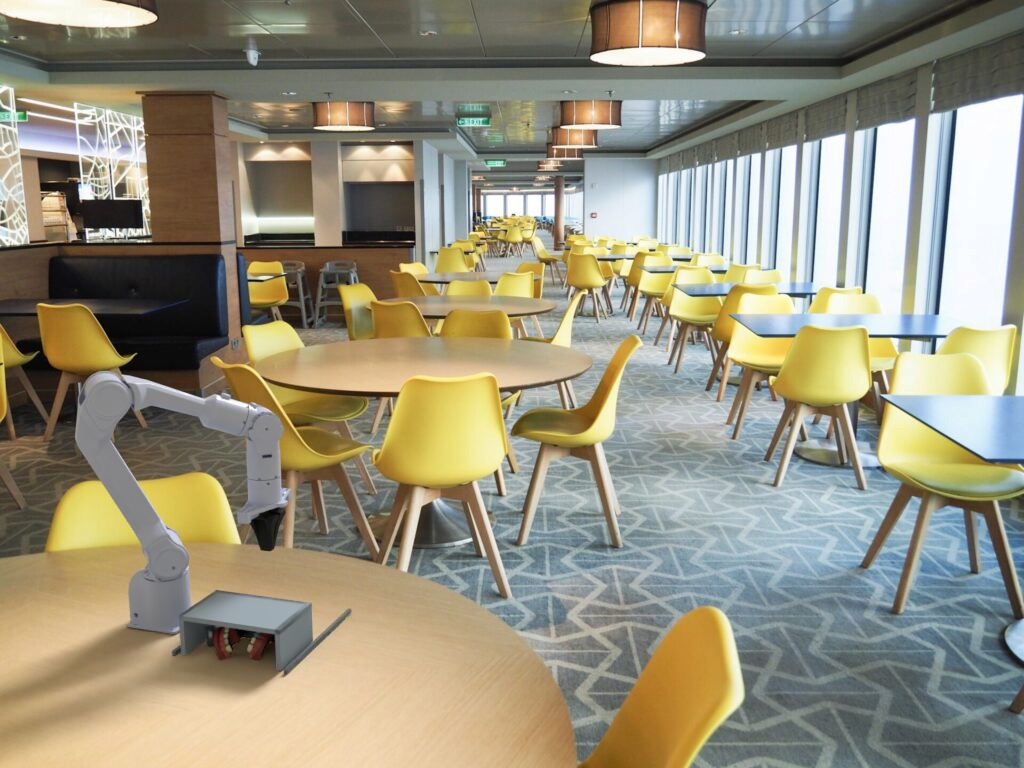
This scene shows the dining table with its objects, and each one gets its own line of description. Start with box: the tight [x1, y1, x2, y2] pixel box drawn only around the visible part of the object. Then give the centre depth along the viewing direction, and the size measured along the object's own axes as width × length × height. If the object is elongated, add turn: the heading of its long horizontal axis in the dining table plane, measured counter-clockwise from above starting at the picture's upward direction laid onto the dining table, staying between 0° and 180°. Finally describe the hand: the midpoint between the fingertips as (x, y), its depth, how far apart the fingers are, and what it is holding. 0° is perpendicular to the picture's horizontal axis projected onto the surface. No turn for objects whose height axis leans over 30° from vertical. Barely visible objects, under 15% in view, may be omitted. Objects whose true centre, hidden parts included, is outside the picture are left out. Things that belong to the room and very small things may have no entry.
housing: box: [179, 589, 314, 671], centre depth 139 cm, size 18×10×7 cm, turn 75°
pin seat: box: [171, 607, 352, 675], centre depth 145 cm, size 20×22×3 cm
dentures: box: [214, 626, 273, 662], centre depth 139 cm, size 6×5×9 cm
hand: (267, 549), depth 155 cm, fingers closed
